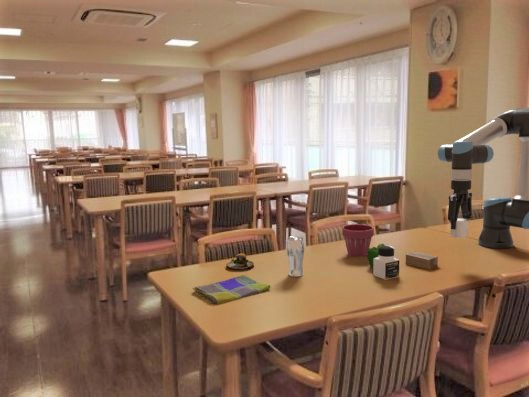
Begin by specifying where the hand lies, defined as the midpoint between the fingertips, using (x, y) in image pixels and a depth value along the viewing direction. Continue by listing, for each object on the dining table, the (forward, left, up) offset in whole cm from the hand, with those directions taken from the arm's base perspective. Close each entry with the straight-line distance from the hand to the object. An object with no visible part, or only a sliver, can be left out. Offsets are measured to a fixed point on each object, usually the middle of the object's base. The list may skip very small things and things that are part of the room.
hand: (459, 235), depth 186 cm
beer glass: (+57, -36, -13) cm, 69 cm away
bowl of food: (+68, -60, -14) cm, 92 cm away
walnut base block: (+9, -11, -13) cm, 20 cm away
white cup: (0, 0, -1) cm, 1 cm away
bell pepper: (+25, -21, -13) cm, 35 cm away
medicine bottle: (+32, -11, -13) cm, 37 cm away
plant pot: (+16, -40, -13) cm, 45 cm away
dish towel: (+87, -37, -14) cm, 96 cm away
